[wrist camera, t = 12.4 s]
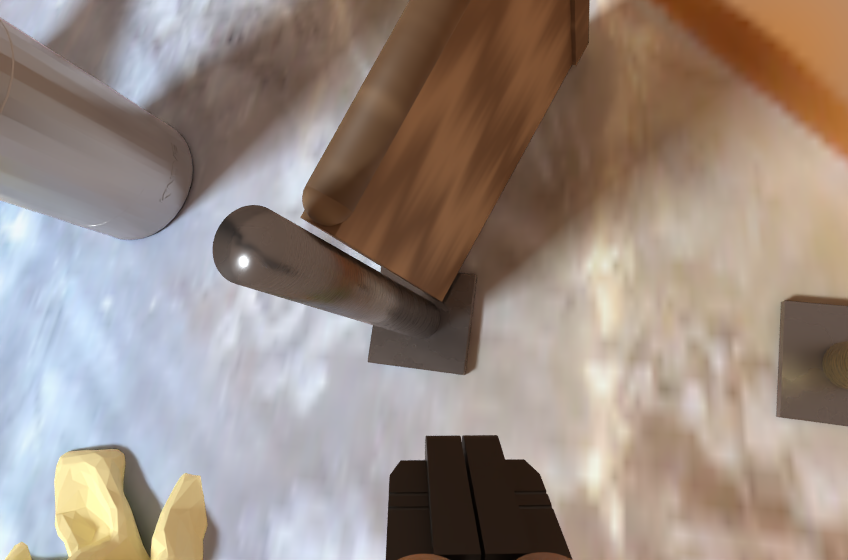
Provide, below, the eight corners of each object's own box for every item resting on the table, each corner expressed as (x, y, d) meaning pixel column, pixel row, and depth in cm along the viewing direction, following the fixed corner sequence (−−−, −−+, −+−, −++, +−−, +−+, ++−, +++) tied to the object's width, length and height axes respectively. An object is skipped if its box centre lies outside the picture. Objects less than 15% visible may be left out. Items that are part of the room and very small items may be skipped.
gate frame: (370, 362, 37) (143, 335, 18) (384, 268, 38) (181, 144, 18) (913, 434, 29) (1553, 525, 10) (914, 313, 30) (1506, 182, 11)
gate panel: (445, 303, 35) (327, 231, 19) (417, 288, 36) (279, 205, 19) (588, 42, 36) (594, -248, 19) (558, 32, 36) (539, -258, 20)
